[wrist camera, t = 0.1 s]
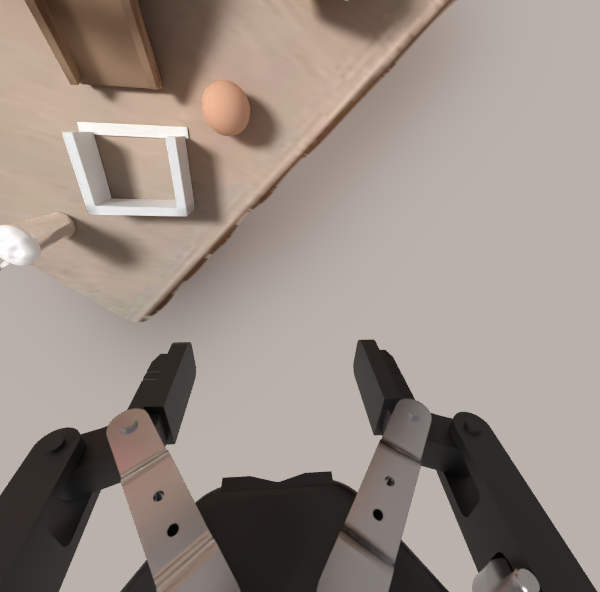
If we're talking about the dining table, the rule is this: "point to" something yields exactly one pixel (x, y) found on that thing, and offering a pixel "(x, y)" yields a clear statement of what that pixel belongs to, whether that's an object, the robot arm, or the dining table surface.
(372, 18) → the dining table surface
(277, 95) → the dining table surface
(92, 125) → the tape line
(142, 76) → the ramp
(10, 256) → the milkshake
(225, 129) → the ball
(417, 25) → the dining table surface
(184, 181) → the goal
